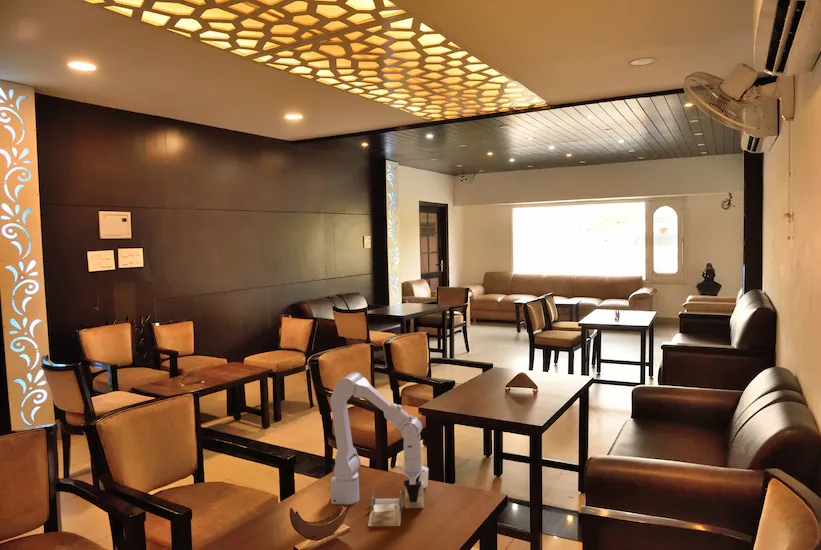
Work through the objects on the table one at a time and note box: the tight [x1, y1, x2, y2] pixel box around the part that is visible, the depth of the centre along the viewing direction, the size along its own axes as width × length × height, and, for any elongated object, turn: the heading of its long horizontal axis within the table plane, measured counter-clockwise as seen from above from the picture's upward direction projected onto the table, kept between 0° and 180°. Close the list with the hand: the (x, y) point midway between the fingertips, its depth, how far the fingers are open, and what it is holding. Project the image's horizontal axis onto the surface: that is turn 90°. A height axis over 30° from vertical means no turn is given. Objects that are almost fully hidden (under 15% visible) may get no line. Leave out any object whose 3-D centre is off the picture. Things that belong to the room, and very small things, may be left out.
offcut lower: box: [371, 510, 398, 524], centre depth 174 cm, size 8×5×2 cm, turn 88°
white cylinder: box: [419, 465, 429, 489], centre depth 198 cm, size 7×7×7 cm
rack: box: [367, 490, 403, 527], centre depth 178 cm, size 10×16×5 cm, turn 178°
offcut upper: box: [374, 504, 396, 518], centre depth 174 cm, size 6×4×2 cm
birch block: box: [404, 481, 425, 509], centre depth 183 cm, size 6×3×8 cm, turn 88°
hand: (413, 496), depth 183 cm, fingers open, 7 cm apart
